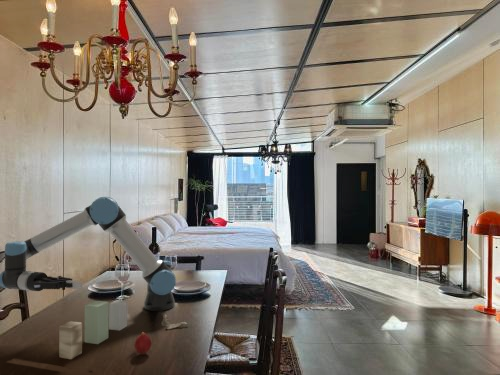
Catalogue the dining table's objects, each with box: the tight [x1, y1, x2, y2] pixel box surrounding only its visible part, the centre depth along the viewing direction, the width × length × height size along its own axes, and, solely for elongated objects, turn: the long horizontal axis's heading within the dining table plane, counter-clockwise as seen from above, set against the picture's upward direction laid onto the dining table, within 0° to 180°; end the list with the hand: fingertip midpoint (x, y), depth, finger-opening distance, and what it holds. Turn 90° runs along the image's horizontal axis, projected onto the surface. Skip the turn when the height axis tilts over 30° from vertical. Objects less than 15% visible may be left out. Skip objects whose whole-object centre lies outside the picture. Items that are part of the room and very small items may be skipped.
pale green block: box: [84, 300, 109, 345], centre depth 136 cm, size 6×6×14 cm
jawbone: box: [161, 314, 189, 331], centre depth 157 cm, size 9×20×2 cm, turn 44°
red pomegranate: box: [134, 331, 153, 356], centre depth 127 cm, size 6×6×8 cm
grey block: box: [108, 299, 128, 331], centre depth 149 cm, size 5×5×12 cm
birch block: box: [58, 320, 83, 360], centre depth 123 cm, size 5×5×12 cm
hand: (80, 285), depth 138 cm, fingers closed
